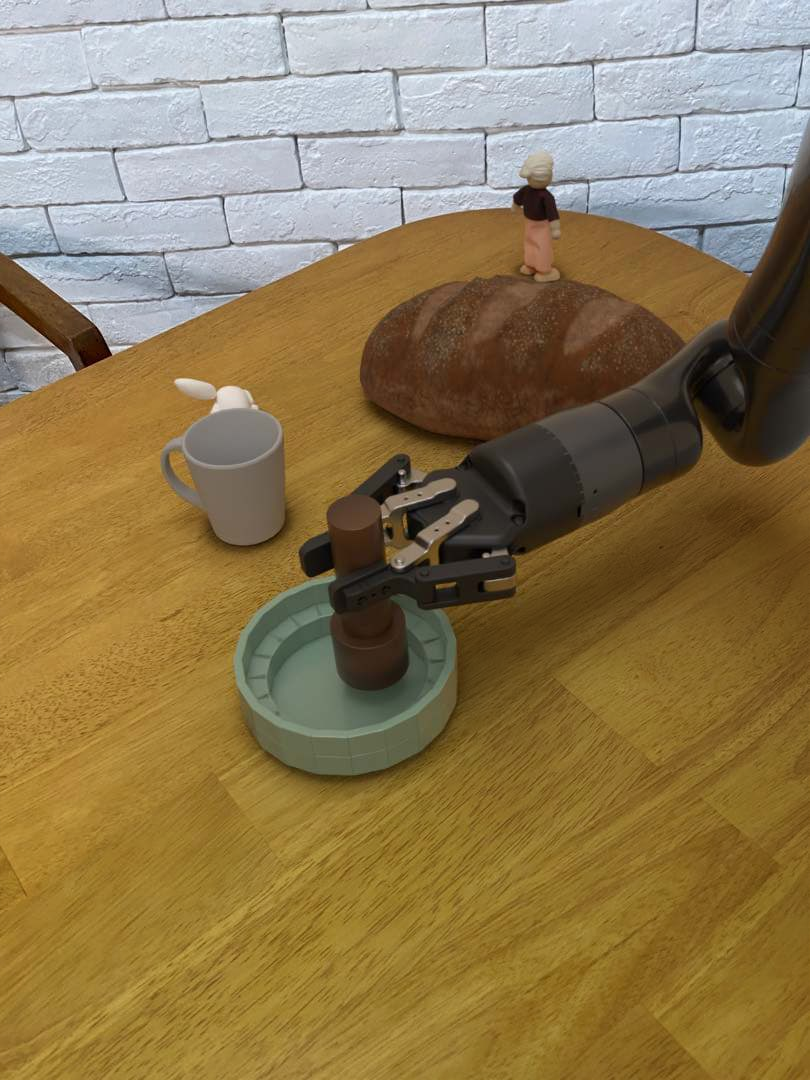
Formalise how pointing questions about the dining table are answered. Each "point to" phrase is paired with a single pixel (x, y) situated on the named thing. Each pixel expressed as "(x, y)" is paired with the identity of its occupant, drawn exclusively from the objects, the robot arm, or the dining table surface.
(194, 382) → the rabbit figurine
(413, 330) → the bread
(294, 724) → the bowl
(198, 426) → the cup
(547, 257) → the grandmother figurine
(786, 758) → the dining table surface
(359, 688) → the pestle
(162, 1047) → the dining table surface
